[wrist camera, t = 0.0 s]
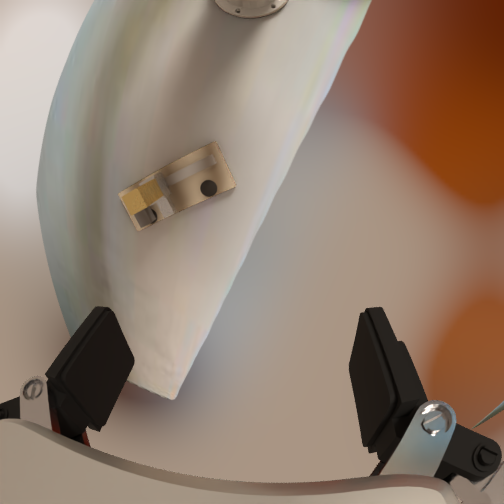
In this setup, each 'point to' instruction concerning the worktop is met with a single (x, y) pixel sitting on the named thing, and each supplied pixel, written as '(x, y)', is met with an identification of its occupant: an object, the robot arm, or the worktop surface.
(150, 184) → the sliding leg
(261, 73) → the worktop surface
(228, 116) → the worktop surface
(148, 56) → the worktop surface
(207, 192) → the board
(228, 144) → the worktop surface
